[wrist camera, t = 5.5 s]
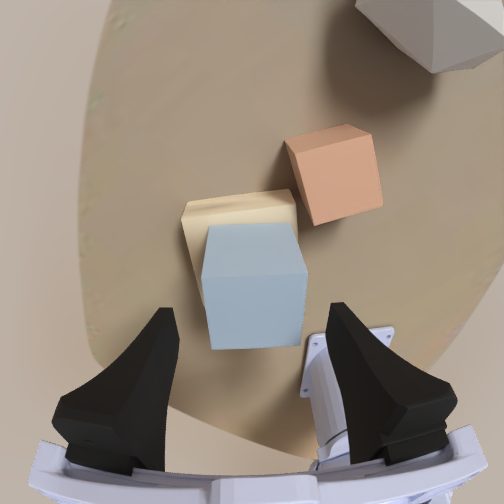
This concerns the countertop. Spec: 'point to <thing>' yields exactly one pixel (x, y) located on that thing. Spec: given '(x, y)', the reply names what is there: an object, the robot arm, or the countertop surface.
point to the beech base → (233, 219)
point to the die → (440, 30)
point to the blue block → (254, 286)
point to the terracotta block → (335, 172)
